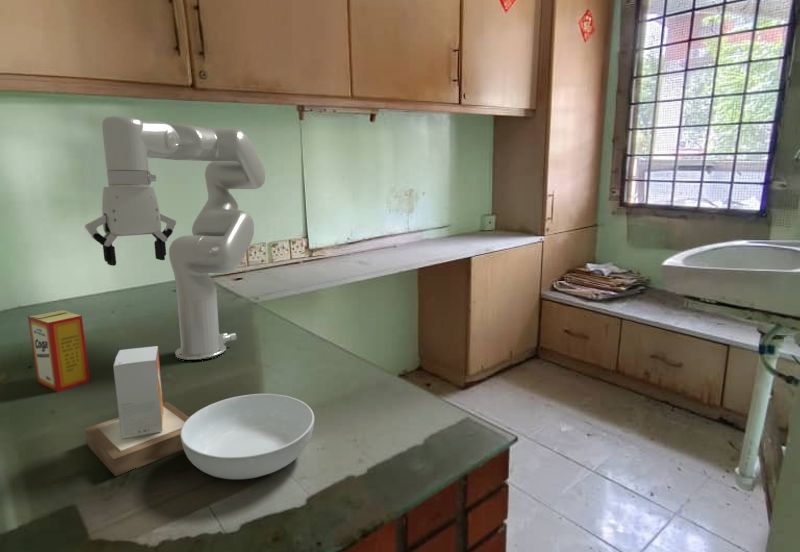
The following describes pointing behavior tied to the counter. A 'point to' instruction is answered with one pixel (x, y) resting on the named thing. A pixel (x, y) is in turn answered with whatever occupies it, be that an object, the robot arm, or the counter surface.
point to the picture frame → (136, 442)
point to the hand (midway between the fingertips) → (136, 262)
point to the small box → (138, 391)
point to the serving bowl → (247, 435)
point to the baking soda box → (59, 349)
